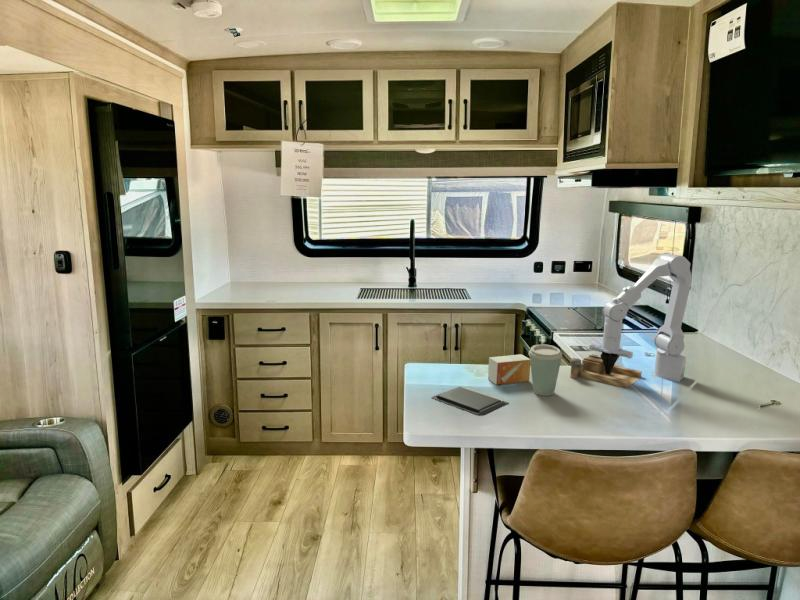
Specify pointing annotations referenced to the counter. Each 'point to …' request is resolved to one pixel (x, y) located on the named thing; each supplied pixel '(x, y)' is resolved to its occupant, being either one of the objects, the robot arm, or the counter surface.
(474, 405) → the dark grey rectangular slab
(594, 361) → the crate
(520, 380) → the small box
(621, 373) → the wooden base
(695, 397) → the counter surface
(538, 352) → the disposable coffee cup
